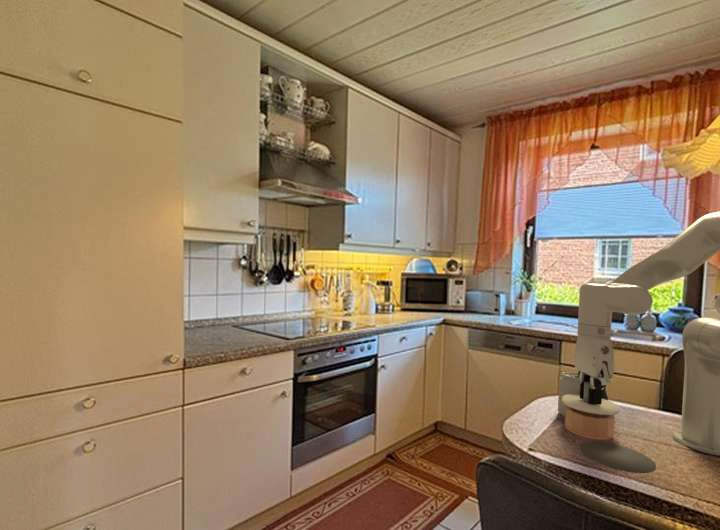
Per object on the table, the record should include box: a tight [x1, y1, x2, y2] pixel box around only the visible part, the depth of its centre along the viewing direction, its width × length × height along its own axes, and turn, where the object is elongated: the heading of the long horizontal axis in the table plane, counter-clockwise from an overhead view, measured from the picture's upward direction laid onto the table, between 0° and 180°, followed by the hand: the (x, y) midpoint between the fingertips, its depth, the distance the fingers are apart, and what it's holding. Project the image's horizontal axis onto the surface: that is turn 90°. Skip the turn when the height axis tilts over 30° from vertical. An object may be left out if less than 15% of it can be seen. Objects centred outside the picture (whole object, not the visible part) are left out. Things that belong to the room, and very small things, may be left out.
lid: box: [562, 382, 620, 416], centre depth 106 cm, size 13×13×6 cm
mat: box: [580, 441, 657, 474], centre depth 92 cm, size 14×14×1 cm
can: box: [557, 371, 582, 417], centre depth 117 cm, size 8×8×12 cm
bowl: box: [564, 405, 615, 441], centre depth 106 cm, size 11×11×6 cm
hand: (590, 400), depth 106 cm, fingers closed on lid, 3 cm apart
